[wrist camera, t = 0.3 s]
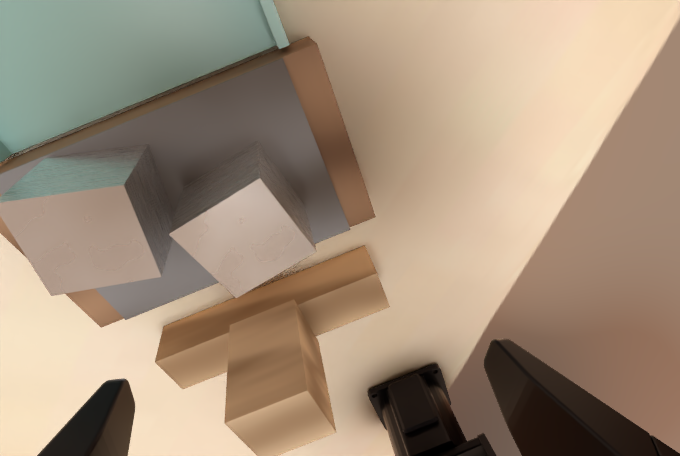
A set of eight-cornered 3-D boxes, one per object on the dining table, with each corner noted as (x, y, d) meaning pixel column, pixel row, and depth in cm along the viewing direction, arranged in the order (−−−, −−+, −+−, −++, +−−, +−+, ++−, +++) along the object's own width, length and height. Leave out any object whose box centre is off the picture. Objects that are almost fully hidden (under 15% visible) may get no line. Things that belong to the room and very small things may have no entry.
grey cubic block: (176, 224, 18) (161, 276, 15) (87, 237, 18) (51, 295, 15) (148, 143, 16) (123, 184, 13) (46, 157, 16) (-8, 203, 12)
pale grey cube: (304, 205, 19) (316, 251, 16) (238, 245, 20) (236, 298, 16) (257, 140, 17) (259, 178, 14) (183, 186, 18) (168, 234, 14)
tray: (286, 40, 18) (290, 45, 16) (5, 155, 18) (-14, 169, 17) (194, -203, 13) (188, -225, 12) (-180, -46, 13) (-227, -50, 12)
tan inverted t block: (378, 281, 27) (428, 395, 19) (192, 355, 27) (171, 497, 20) (361, 238, 25) (411, 349, 17) (159, 319, 25) (121, 464, 17)
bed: (363, 195, 23) (376, 218, 21) (114, 296, 23) (100, 330, 21) (308, 36, 18) (317, 44, 16) (-11, 167, 18) (-47, 193, 16)
